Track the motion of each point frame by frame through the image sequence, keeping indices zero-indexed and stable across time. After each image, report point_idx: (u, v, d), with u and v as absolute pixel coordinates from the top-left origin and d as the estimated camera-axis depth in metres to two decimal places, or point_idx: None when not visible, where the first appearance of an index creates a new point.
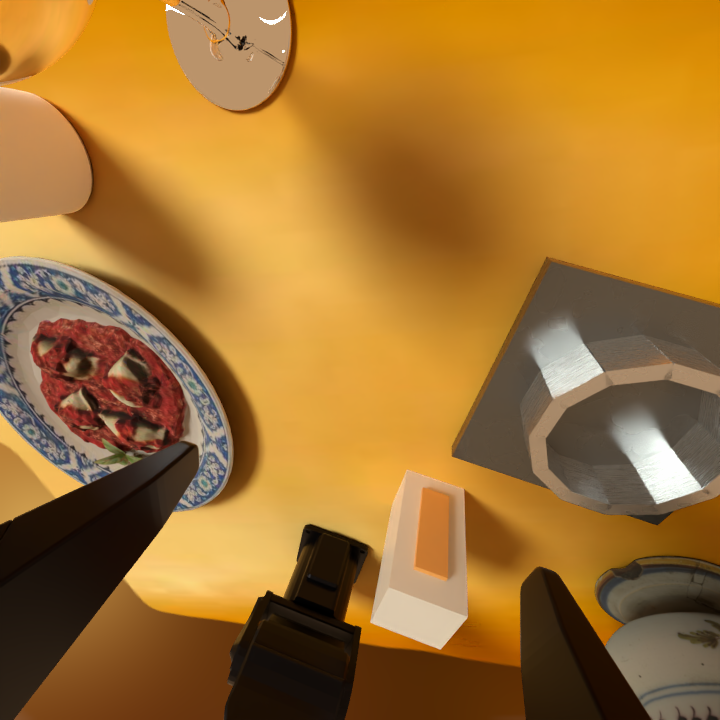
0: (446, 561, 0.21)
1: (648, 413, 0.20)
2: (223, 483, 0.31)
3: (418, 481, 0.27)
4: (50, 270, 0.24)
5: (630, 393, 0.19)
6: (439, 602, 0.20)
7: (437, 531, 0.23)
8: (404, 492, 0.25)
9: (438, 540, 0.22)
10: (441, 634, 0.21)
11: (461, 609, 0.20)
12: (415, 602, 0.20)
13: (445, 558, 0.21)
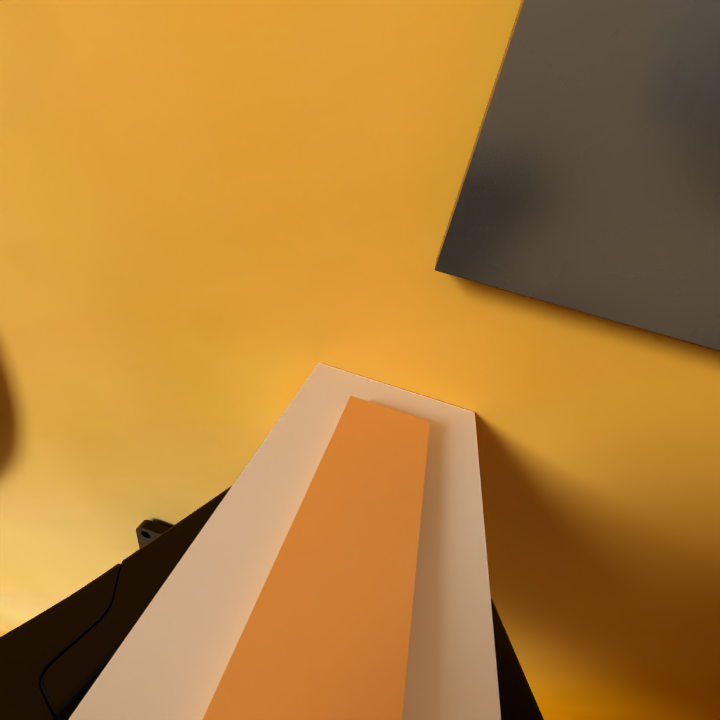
0: (393, 683, 0.04)
1: None
2: None
3: (343, 387, 0.09)
4: None
5: None
6: None
7: (373, 528, 0.06)
8: (289, 408, 0.08)
9: (371, 567, 0.05)
10: None
11: None
12: None
13: (392, 666, 0.04)
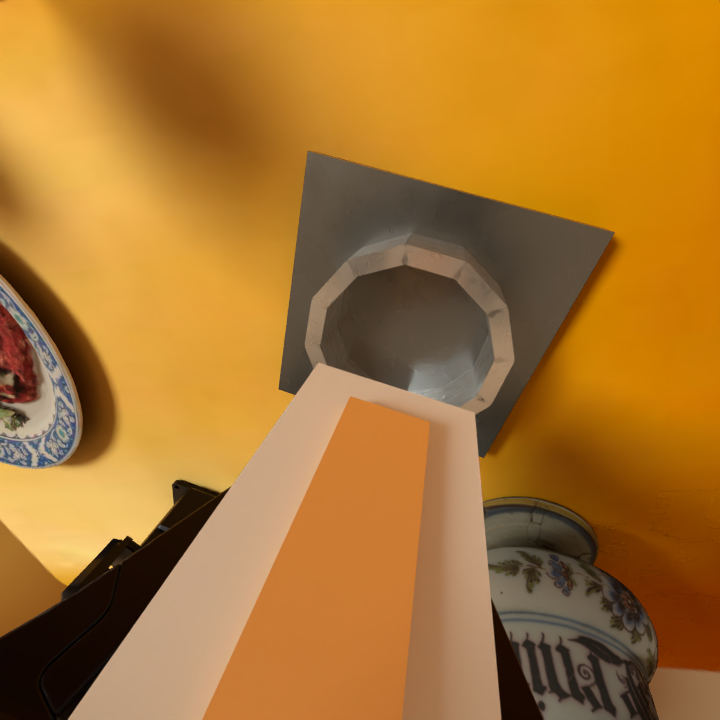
0: (393, 687, 0.04)
1: (441, 325, 0.19)
2: (77, 432, 0.29)
3: (343, 388, 0.09)
4: None
5: (419, 303, 0.18)
6: None
7: (373, 530, 0.06)
8: (289, 409, 0.08)
9: (370, 569, 0.05)
10: None
11: None
12: None
13: (392, 669, 0.04)
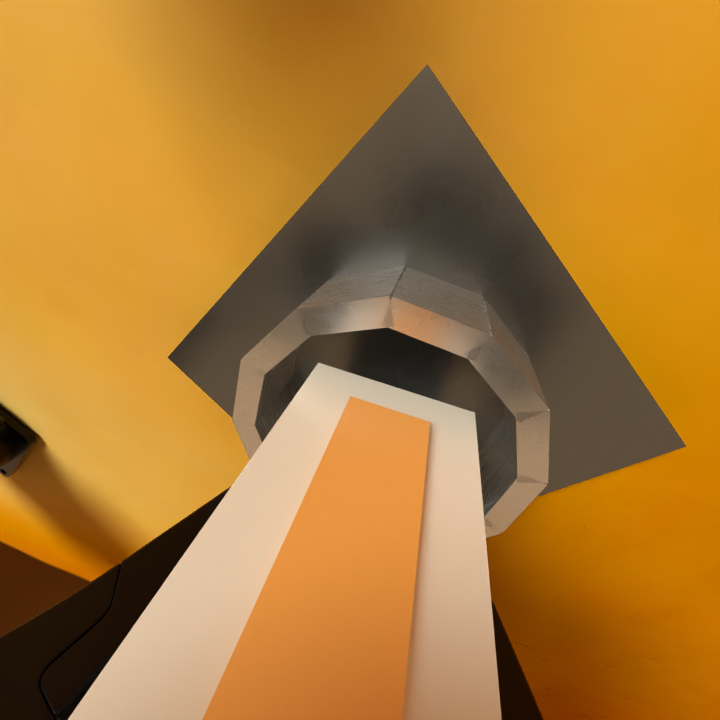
0: (393, 687, 0.04)
1: None
2: None
3: (343, 388, 0.09)
4: None
5: (425, 378, 0.13)
6: None
7: (373, 530, 0.06)
8: (289, 409, 0.08)
9: (370, 570, 0.05)
10: None
11: None
12: None
13: (392, 670, 0.04)
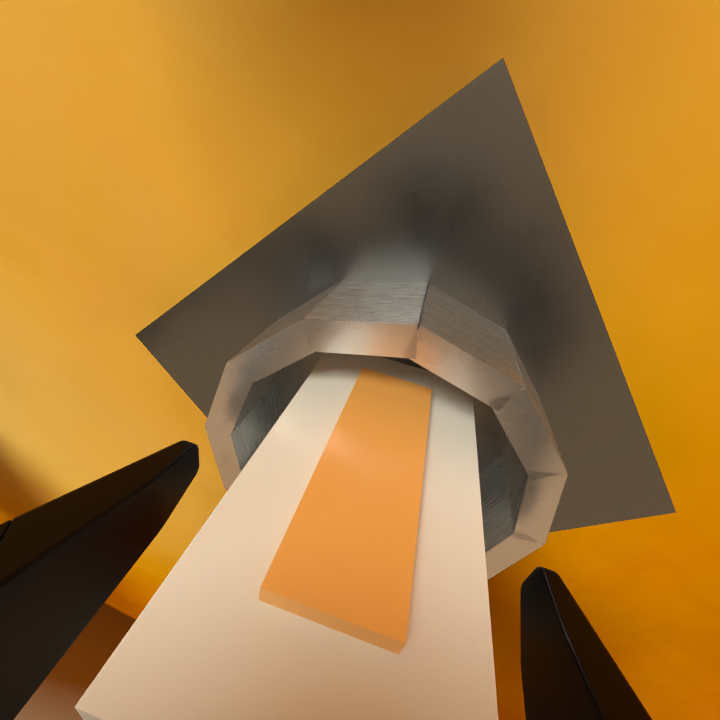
0: (405, 562, 0.05)
1: None
2: None
3: (355, 362, 0.11)
4: None
5: None
6: None
7: (386, 464, 0.07)
8: (310, 378, 0.09)
9: (385, 490, 0.06)
10: None
11: None
12: None
13: (403, 552, 0.05)
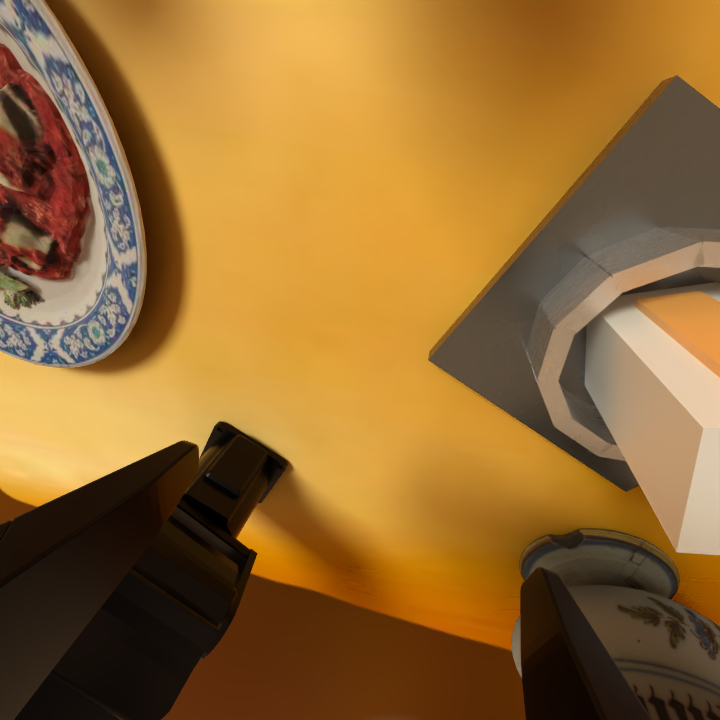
0: None
1: None
2: (121, 337, 0.23)
3: (620, 302, 0.15)
4: None
5: None
6: None
7: None
8: (606, 318, 0.14)
9: None
10: None
11: None
12: None
13: None
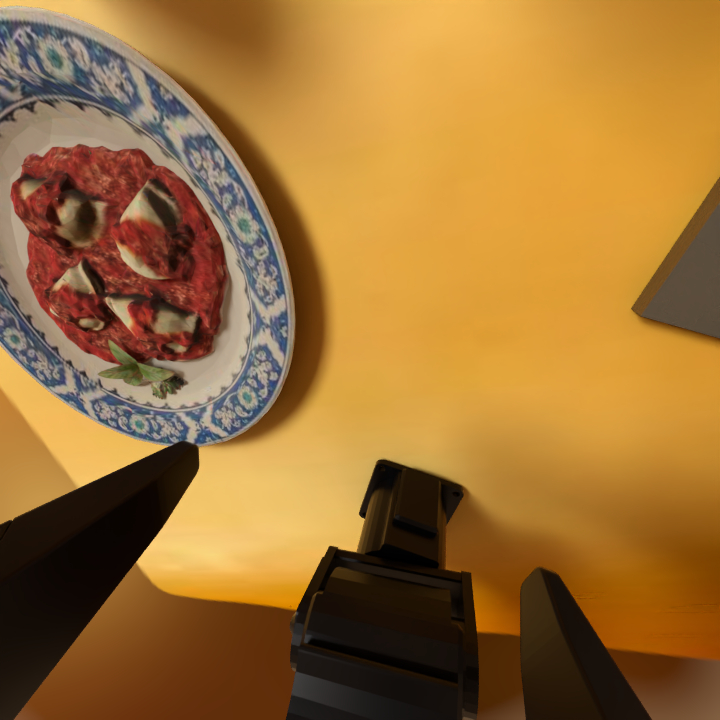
0: None
1: None
2: (275, 394, 0.22)
3: None
4: (36, 27, 0.16)
5: None
6: None
7: None
8: None
9: None
10: None
11: None
12: None
13: None
